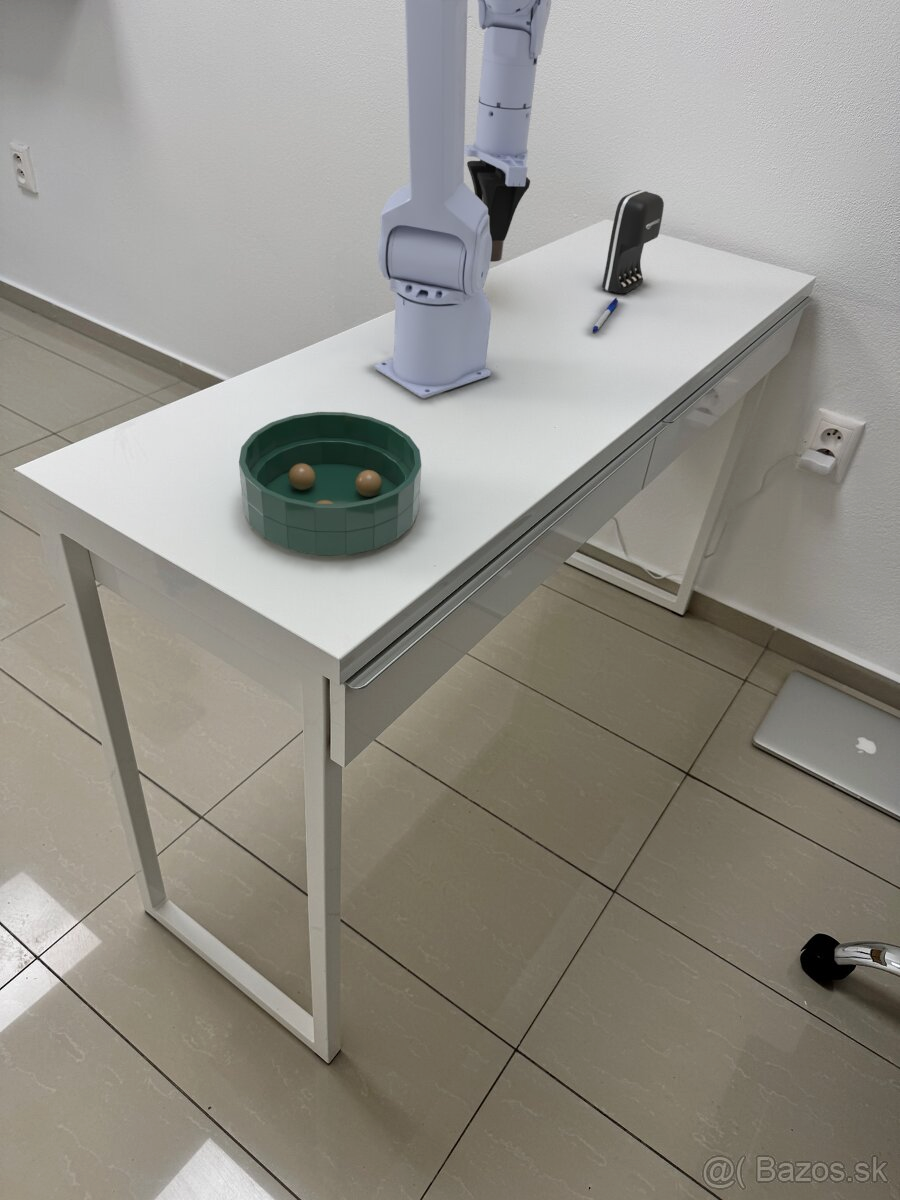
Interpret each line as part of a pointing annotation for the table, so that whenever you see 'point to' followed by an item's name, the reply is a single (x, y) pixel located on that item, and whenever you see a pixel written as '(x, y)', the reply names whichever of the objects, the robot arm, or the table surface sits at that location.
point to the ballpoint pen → (605, 314)
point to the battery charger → (631, 239)
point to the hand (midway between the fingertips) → (491, 234)
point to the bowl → (330, 483)
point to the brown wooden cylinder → (496, 248)
